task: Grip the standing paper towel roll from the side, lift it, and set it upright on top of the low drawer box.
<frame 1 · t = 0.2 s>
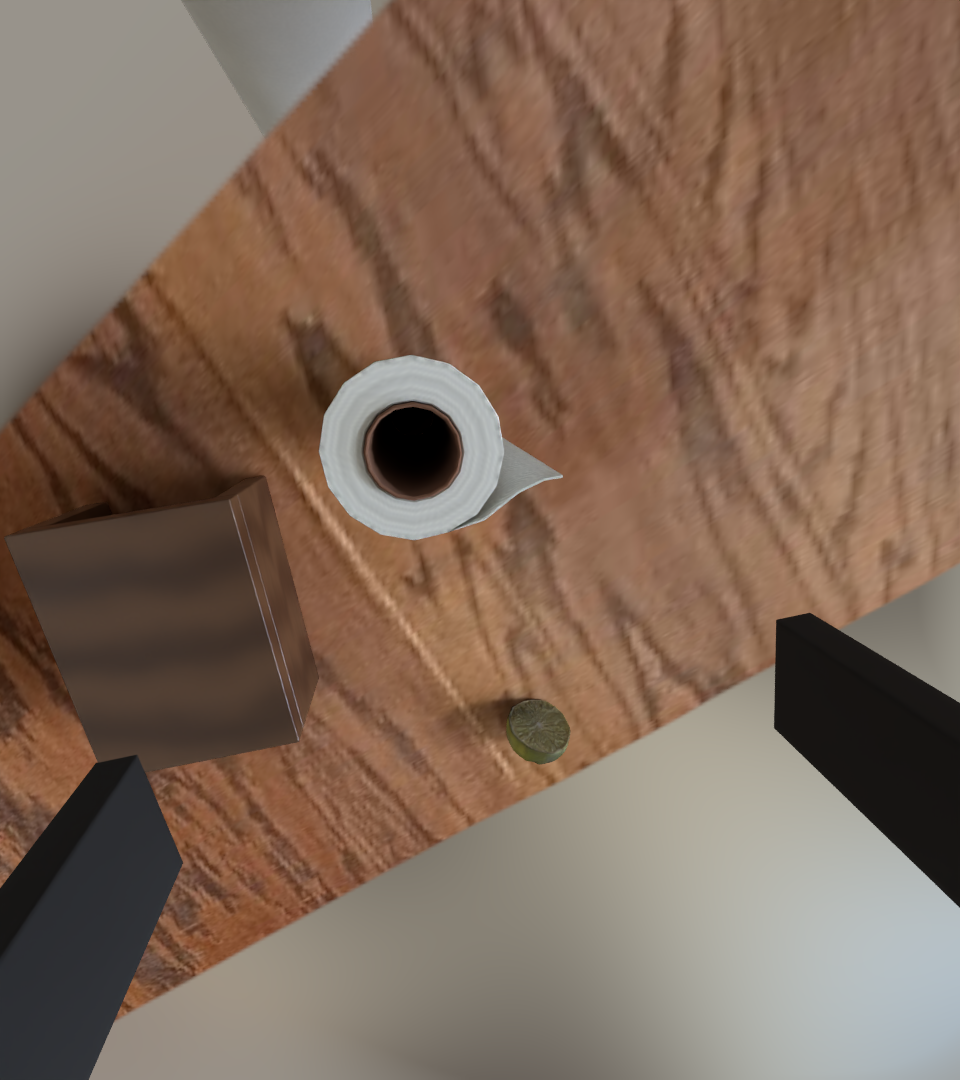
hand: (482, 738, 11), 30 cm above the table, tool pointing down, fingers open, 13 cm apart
lime: (531, 713, 46), on the table
drawer box: (210, 597, 40), on the table
paper towel roll: (418, 420, 39), on the table
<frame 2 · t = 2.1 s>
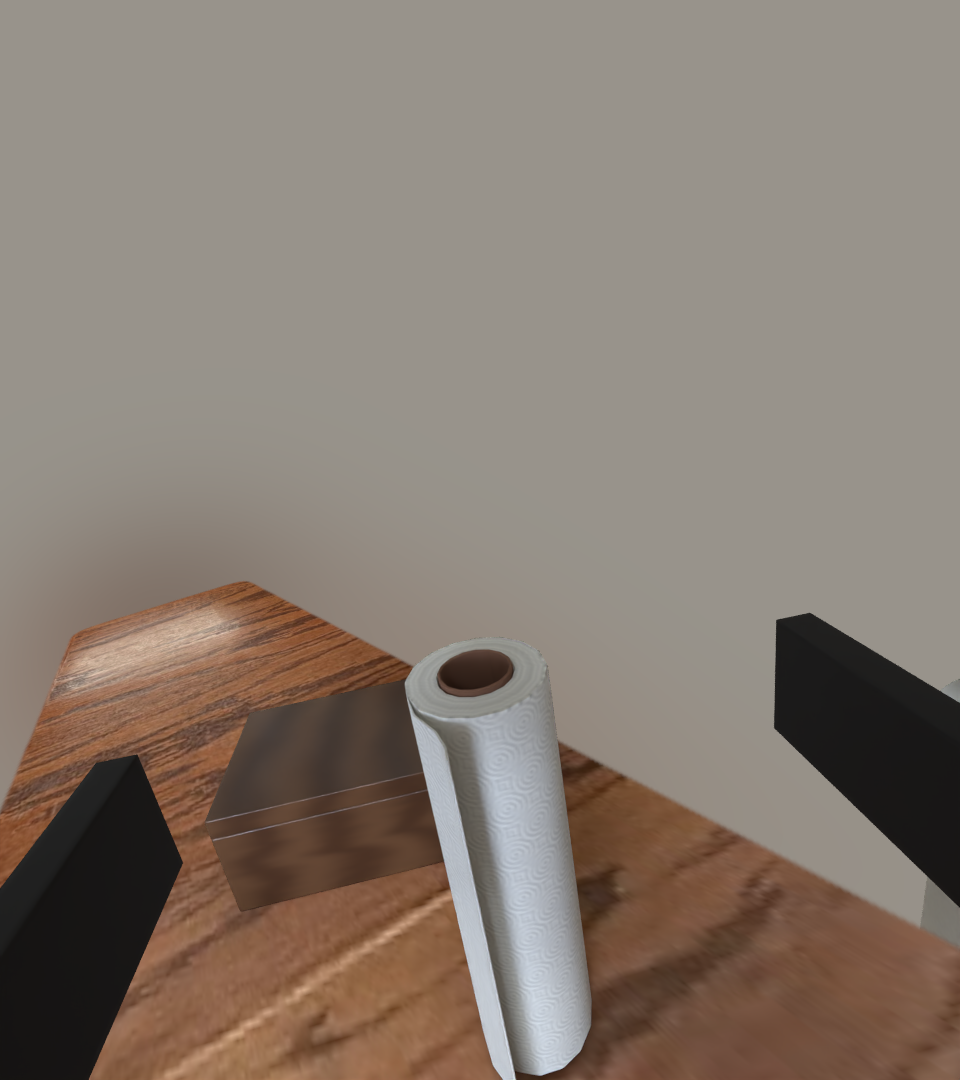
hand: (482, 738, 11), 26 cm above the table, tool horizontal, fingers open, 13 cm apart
drawer box: (360, 818, 45), on the table
paper towel roll: (529, 1022, 30), on the table
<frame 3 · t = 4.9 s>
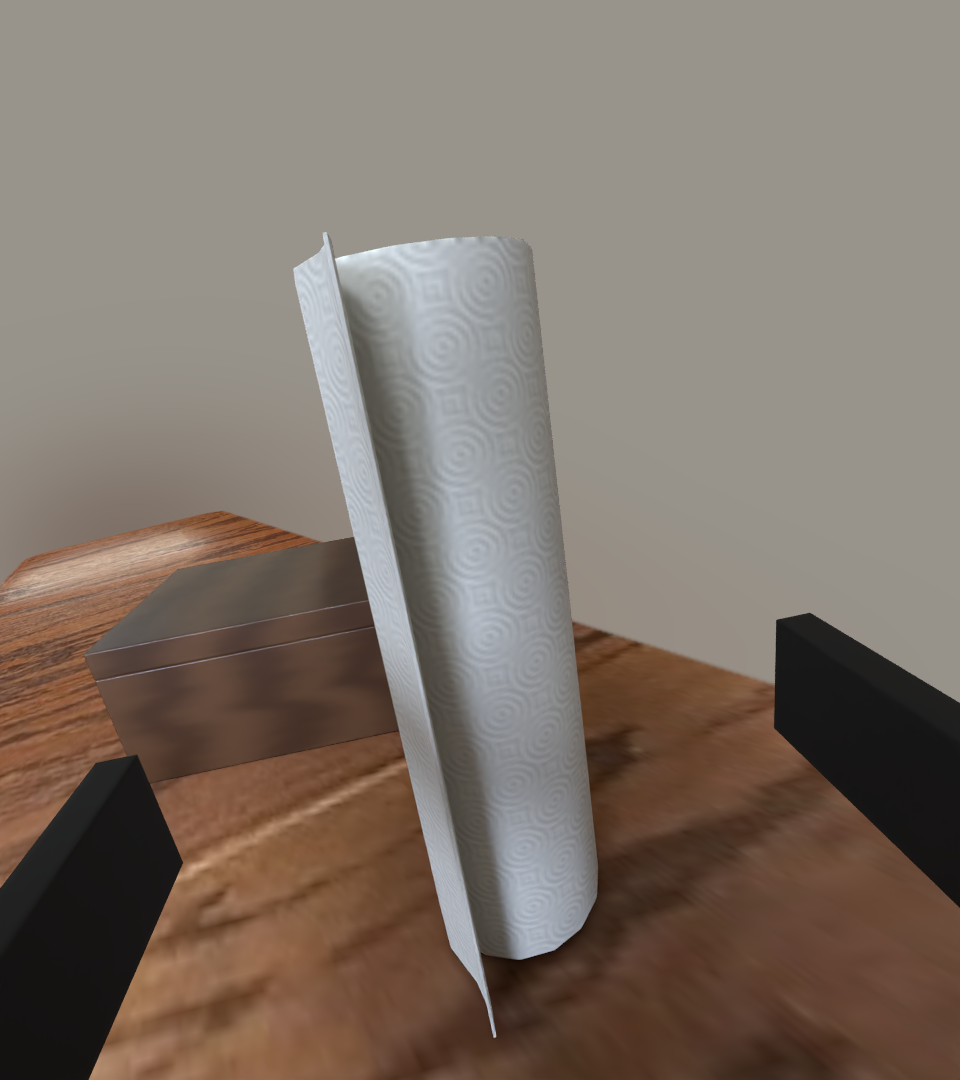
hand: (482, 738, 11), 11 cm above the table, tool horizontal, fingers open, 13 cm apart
drawer box: (308, 692, 36), on the table
paper towel roll: (508, 896, 21), on the table
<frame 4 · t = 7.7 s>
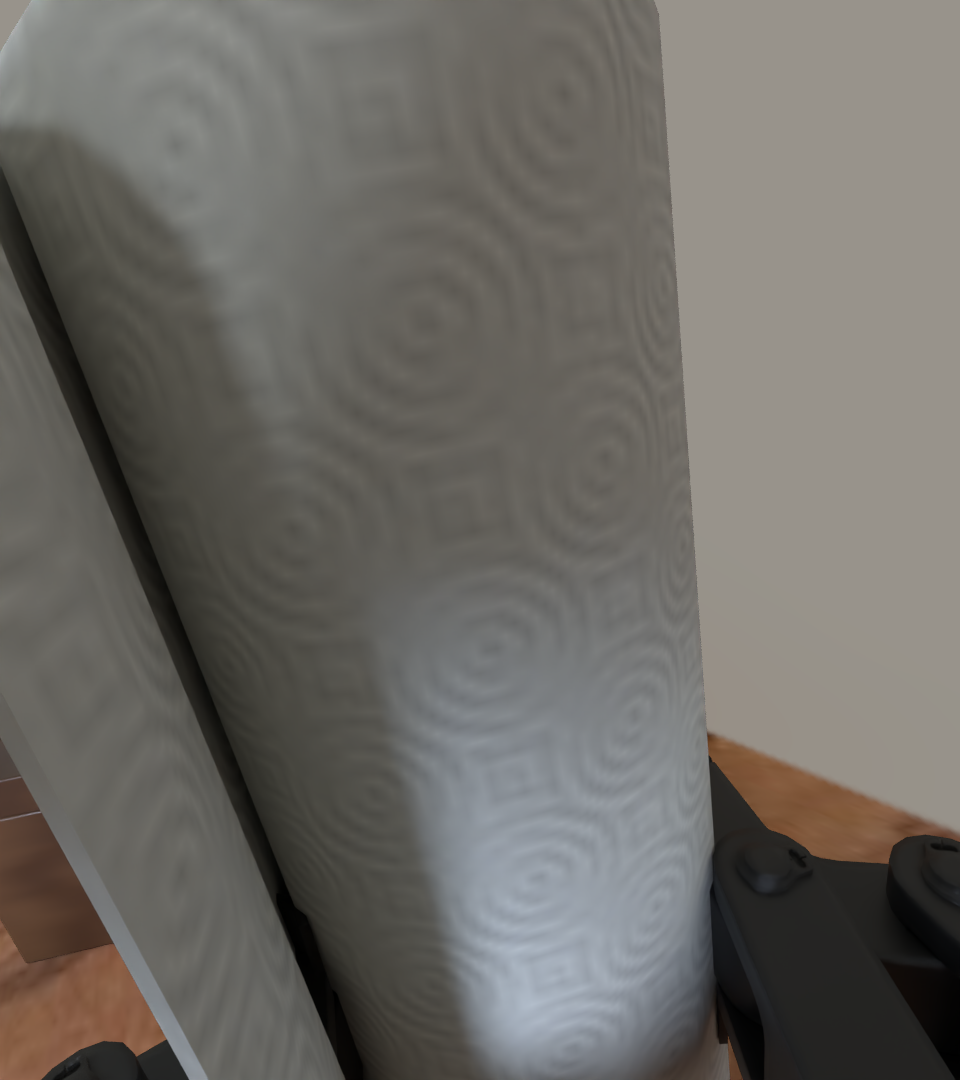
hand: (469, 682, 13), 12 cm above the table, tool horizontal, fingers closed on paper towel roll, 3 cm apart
drawer box: (275, 799, 27), on the table
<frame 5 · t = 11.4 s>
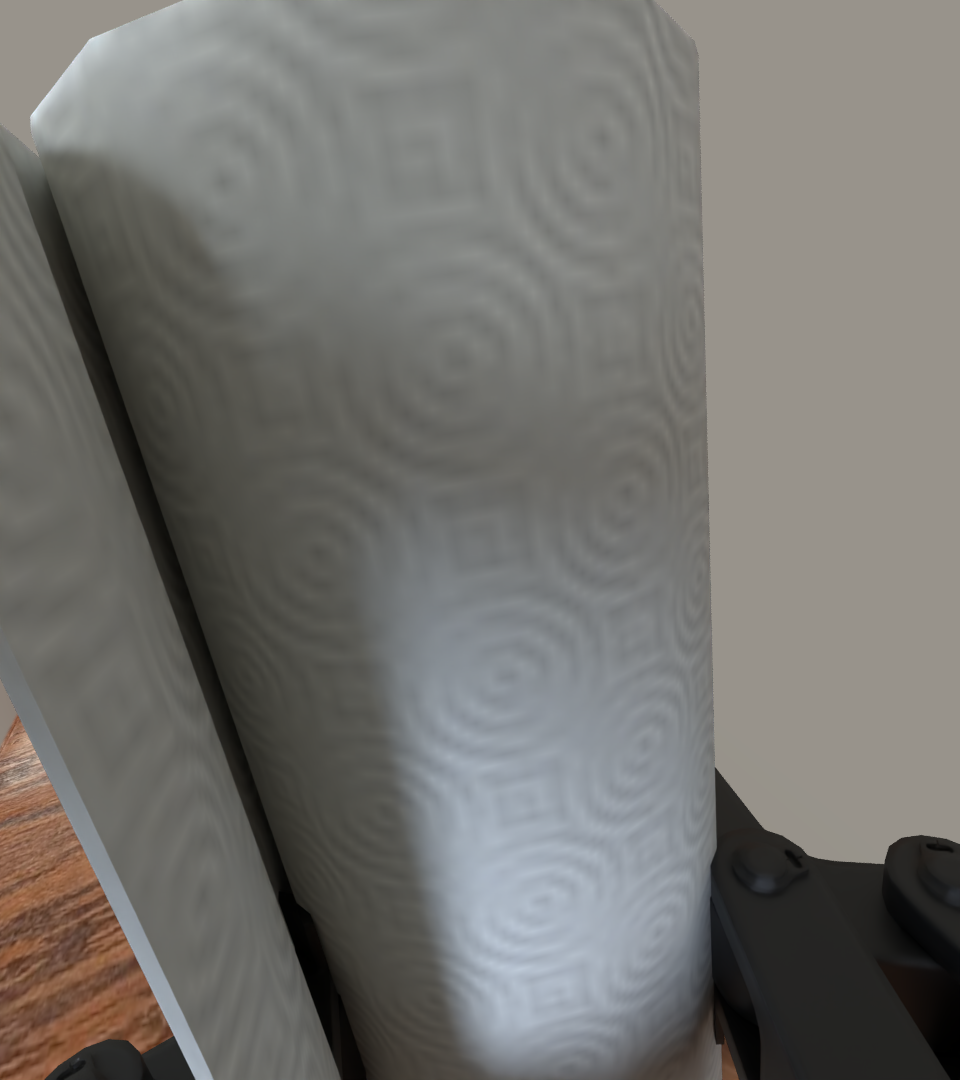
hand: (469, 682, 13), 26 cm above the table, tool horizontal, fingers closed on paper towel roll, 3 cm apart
when the fingers open (20 cm above the table, at t = 15.3 s): paper towel roll stays where it is, resting on drawer box.
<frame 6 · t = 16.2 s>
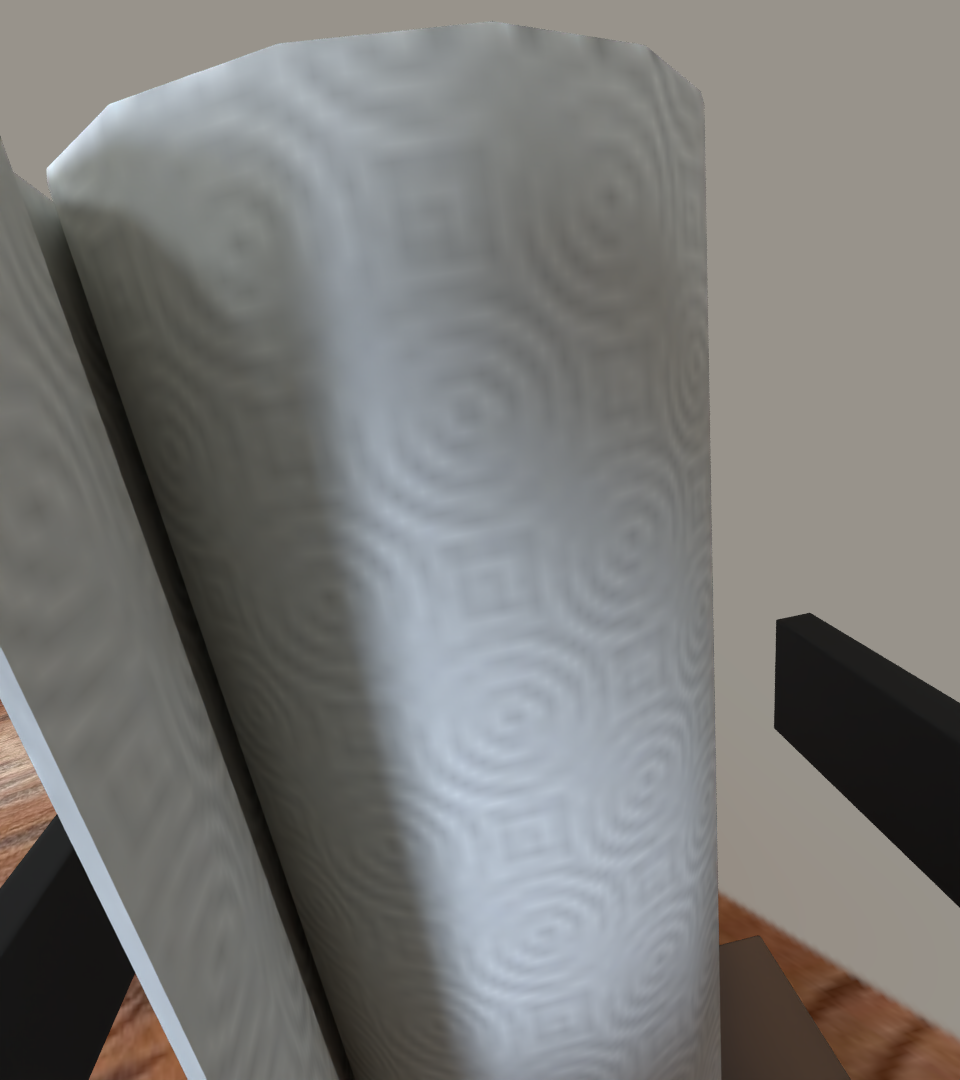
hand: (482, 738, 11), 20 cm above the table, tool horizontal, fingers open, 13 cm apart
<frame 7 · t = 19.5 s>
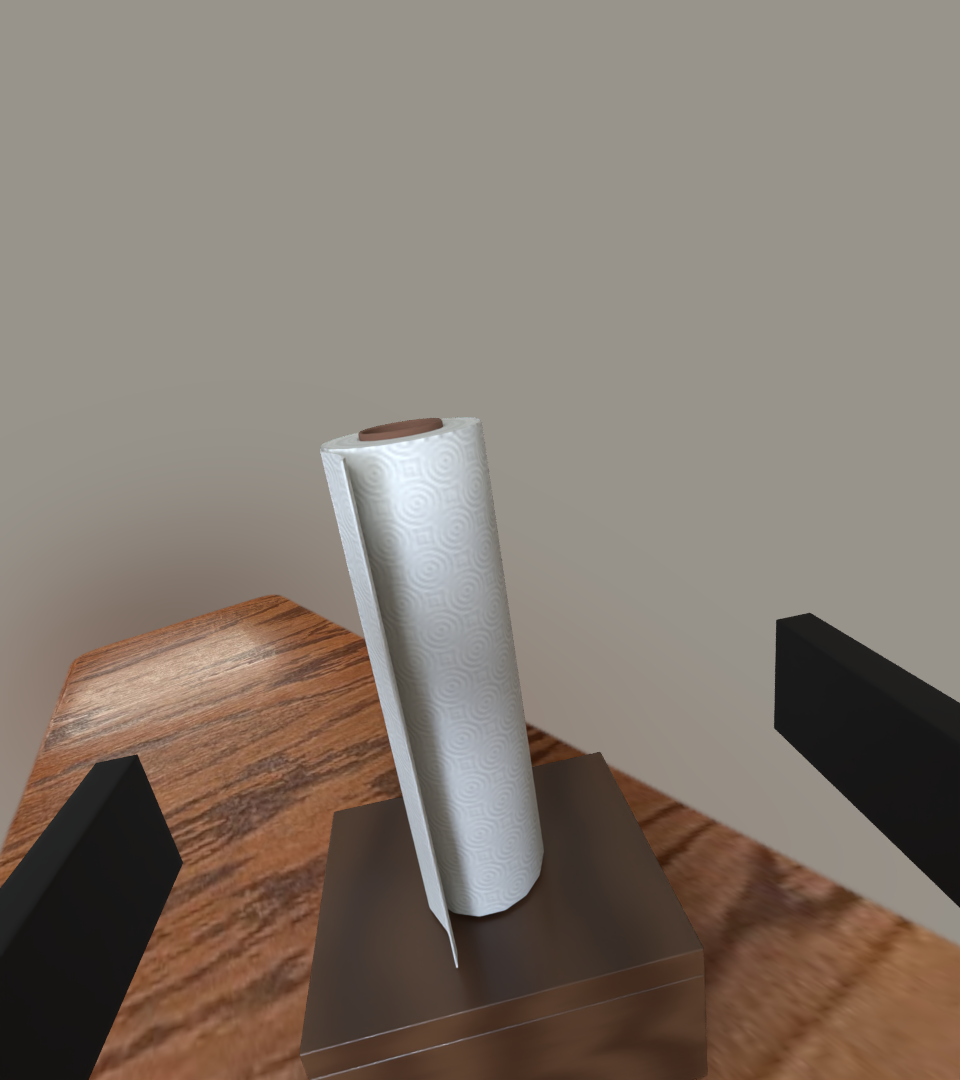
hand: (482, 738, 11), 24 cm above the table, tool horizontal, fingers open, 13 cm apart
drawer box: (506, 980, 30), on the table
paper towel roll: (475, 872, 27), point 8 cm above the table, touching drawer box
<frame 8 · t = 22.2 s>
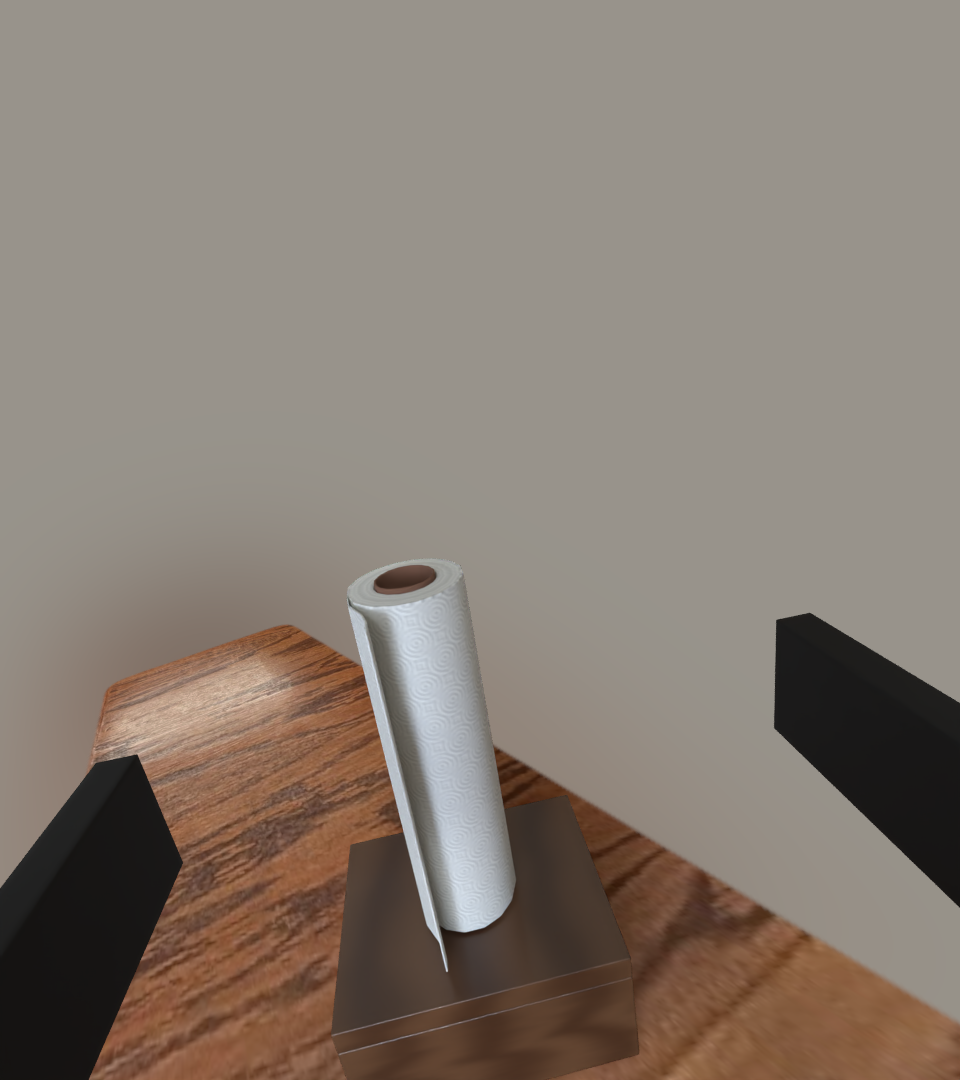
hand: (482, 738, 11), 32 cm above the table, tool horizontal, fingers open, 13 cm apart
drawer box: (488, 981, 37), on the table
paper towel roll: (462, 896, 35), point 8 cm above the table, touching drawer box
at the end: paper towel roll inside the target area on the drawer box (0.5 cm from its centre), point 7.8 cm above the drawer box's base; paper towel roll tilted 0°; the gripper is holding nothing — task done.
